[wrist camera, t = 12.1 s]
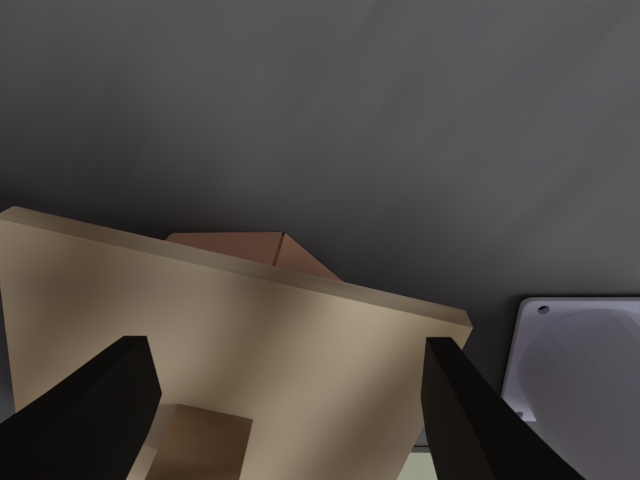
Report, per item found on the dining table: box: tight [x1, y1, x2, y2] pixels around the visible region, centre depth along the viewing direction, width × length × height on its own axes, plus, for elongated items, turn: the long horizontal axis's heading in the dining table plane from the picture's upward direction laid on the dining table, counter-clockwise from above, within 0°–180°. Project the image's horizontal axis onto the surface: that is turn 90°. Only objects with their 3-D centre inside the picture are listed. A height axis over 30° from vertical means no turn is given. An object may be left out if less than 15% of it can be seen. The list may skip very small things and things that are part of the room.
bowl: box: [165, 232, 343, 282], centre depth 20 cm, size 13×13×5 cm
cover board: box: [0, 206, 473, 480], centre depth 16 cm, size 16×16×6 cm
